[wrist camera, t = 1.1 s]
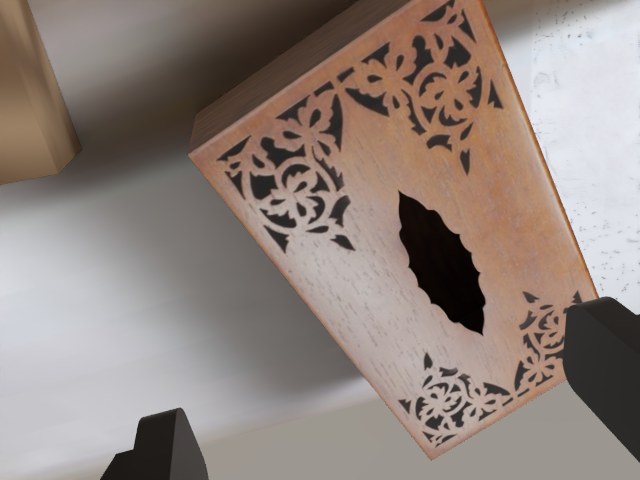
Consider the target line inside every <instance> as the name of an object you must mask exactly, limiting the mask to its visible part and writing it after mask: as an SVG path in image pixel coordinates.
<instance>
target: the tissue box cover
mask: <svg viewBox="0 0 640 480" xmlns="http://www.w3.org/2000/svg"><path fill="white" fill-rule="evenodd" d="M188 156H189V158H190V159H191V160H192V161H193V163H194V164H195V165H196V166H197V168H198V169H199V170H200V171H201V173H202V174H203V175H204V176H205V178H206V179H207V180H208V181H209V183H210V184H211V185H212V186H213V188H214V189H215V190H216V191H217V193H218V194H219V195H220V196H221V198H222V199H223V200H224V201H225V203H226V204H227V205H228V206H229V208H230V209H231V210H232V211H233V213H234V214H235V215H236V217H237V218H238V219H239V220H240V222H241V223H242V224H243V225H244V227H245V228H246V229H247V230H248V232H249V233H250V234H251V235H252V237H253V238H254V239H255V240H256V242H257V243H258V244H259V245H260V247H261V248H262V249H263V250H264V252H265V253H266V254H267V255H268V257H269V258H270V259H271V260H272V262H273V263H274V264H275V265H276V267H277V268H278V269H279V270H280V272H281V273H282V274H283V275H284V277H285V278H286V279H287V281H288V282H289V283H290V284H291V286H292V287H293V288H294V289H295V291H296V292H297V293H298V294H299V296H300V297H301V298H302V299H303V301H304V302H305V303H306V304H307V306H308V307H309V308H310V309H311V311H312V312H313V313H314V314H315V316H316V317H317V318H318V319H319V321H320V322H321V323H322V324H323V326H324V327H325V328H326V329H327V331H328V332H329V333H330V334H331V336H332V337H333V338H334V339H335V341H336V342H337V343H338V345H339V346H340V347H341V348H342V350H343V351H344V352H345V353H346V355H347V356H348V357H349V358H350V360H351V361H352V362H353V363H354V365H355V366H356V367H357V368H358V370H359V371H360V372H361V373H362V375H363V376H364V377H365V378H366V380H367V381H368V382H369V383H370V385H371V386H372V387H373V388H374V390H375V391H376V392H377V393H378V395H379V396H380V397H381V398H382V400H383V401H384V402H385V403H386V405H387V406H388V407H389V409H390V410H391V411H392V412H393V414H394V415H395V416H396V417H397V419H398V420H399V421H400V422H401V424H402V425H403V426H404V427H405V429H406V430H407V431H408V432H409V434H410V435H411V436H412V437H413V439H414V440H415V441H416V442H417V444H418V445H419V446H420V447H421V449H422V450H423V451H424V452H425V454H426V455H427V456H428V457H429V459H430V460H433V459H435V458H436V457H438V456H440V455H441V454H443V453H445V452H447V451H448V450H450V449H452V448H453V447H455V446H457V445H458V444H460V443H462V442H463V441H465V440H467V439H468V438H470V437H472V436H473V435H475V434H477V433H478V432H480V431H482V430H483V429H485V428H487V427H488V426H490V425H491V424H493V423H495V422H496V421H498V420H500V419H502V418H503V417H505V416H506V415H508V414H510V413H512V412H513V411H515V410H516V409H518V408H520V407H522V406H523V405H525V404H527V403H528V402H530V401H532V400H533V399H535V398H537V397H538V396H540V395H542V394H543V393H545V392H547V391H548V390H550V389H552V388H553V387H555V386H557V385H558V384H560V383H562V382H563V381H565V380H567V378H566V376H565V373H564V369H563V349H564V336H565V323H566V313H567V310H568V308H569V307H570V306H572V305H575V304H579V303H582V302H586V301H590V300H594V299H598V298H599V296H598V294H597V291H596V289H595V286H594V283H593V281H592V278H591V276H590V273H589V271H588V268H587V266H586V263H585V260H584V258H583V255H582V253H581V250H580V248H579V245H578V243H577V240H576V238H575V235H574V232H573V230H572V227H571V225H570V222H569V220H568V217H567V215H566V212H565V209H564V207H563V204H562V202H561V199H560V197H559V194H558V192H557V189H556V187H555V184H554V181H553V179H552V176H551V174H550V171H549V169H548V166H547V164H546V161H545V159H544V156H543V153H542V151H541V148H540V146H539V143H538V141H537V138H536V136H535V133H534V130H533V128H532V125H531V123H530V120H529V118H528V115H527V113H526V110H525V108H524V105H523V102H522V100H521V97H520V95H519V92H518V90H517V87H516V85H515V82H514V79H513V77H512V74H511V72H510V69H509V67H508V64H507V62H506V59H505V57H504V54H503V51H502V49H501V46H500V44H499V41H498V39H497V36H496V34H495V31H494V29H493V26H492V23H491V21H490V18H489V16H488V13H487V11H486V8H485V6H484V3H483V0H359V1H357V2H356V3H354V4H353V5H352V6H350V7H349V8H347V9H346V10H344V11H343V12H341V13H340V14H339V15H337V16H336V17H334V18H333V19H331V20H330V21H329V22H327V23H326V24H324V25H323V26H321V27H320V28H319V29H317V30H316V31H314V32H313V33H311V34H310V35H308V36H307V37H306V38H304V39H303V40H301V41H300V42H298V43H297V44H296V45H294V46H293V47H291V48H290V49H288V50H287V51H286V52H284V53H283V54H281V55H280V56H278V57H277V58H276V59H274V60H273V61H271V62H270V63H268V64H267V65H265V66H264V67H263V68H261V69H260V70H258V71H257V72H255V73H254V74H253V75H251V76H250V77H248V78H247V79H245V80H244V81H243V82H241V83H240V84H238V85H237V86H235V87H234V88H232V89H231V90H230V91H228V92H227V93H225V94H224V95H222V96H221V97H220V98H218V99H217V100H215V101H214V102H212V103H211V104H210V105H208V106H207V107H205V108H204V109H202V110H201V111H200V112H198V113H197V114H196V116H195V121H194V126H193V131H192V136H191V141H190V145H189V150H188ZM482 306H483V307H482ZM481 307H482V308H481ZM479 308H480V309H479ZM477 309H479V310H477ZM476 310H477V311H476ZM474 311H476V312H474ZM473 312H474V313H473ZM471 313H472V314H471ZM469 314H471V315H469ZM468 315H469V316H468ZM466 316H468V317H466ZM465 317H466V318H465ZM463 318H464V319H463ZM461 319H463V320H461ZM460 320H461V321H460ZM458 321H460V322H458Z"/></svg>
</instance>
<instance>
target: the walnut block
mask: <svg viewBox="0 0 640 480" xmlns="http://www.w3.org/2000/svg"><path fill="white" fill-rule="evenodd" d="M81 150H82V149H81V146H80V143H79V140H78V138H77V135H76V132H75V130H74V127H73V124H72V121H71V119H70V116H69V113H68V111H67V108H66V105H65V102H64V100H63V97H62V94H61V92H60V89H59V86H58V83H57V81H56V78H55V75H54V72H53V70H52V67H51V64H50V62H49V59H48V56H47V53H46V51H45V48H44V45H43V43H42V40H41V37H40V34H39V32H38V29H37V26H36V24H35V21H34V18H33V15H32V13H31V10H30V7H29V4H28V2H27V0H0V185H1V184H7V183H12V182H17V181H23V180H28V179H33V178H39V177H44V176H49V175H55V174H59V172H60V171H61V170H62V169H63V168H64V167H65V166H66V165H67V164H68V163H69V162H70V161H71V160H72V159H73V158H74V157H75V156H76V155H77V154H78V153H79V152H80V151H81Z"/></svg>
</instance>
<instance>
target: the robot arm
mask: <svg viewBox="0 0 640 480" xmlns="http://www.w3.org/2000/svg"><path fill="white" fill-rule="evenodd" d="M563 369H564V373H565V376H566V378H567V380H568V382H569V384H570V386H571V387H572V389H573V390H574V392H575V393H576V394H577V395H578V396H579V397H580V398H581V399H582V400H583V401H584V403H585V404H586V405H587V406H588V407H589V408H590V409H591V410H592V411H593V412H594V413H595V415H596V416H597V417H598V418H599V419H600V420H601V421H602V422H603V423H604V424H605V425H606V427H607V428H608V429H609V430H610V431H611V432H612V433H613V434H614V435H615V436H616V437H617V439H618V440H619V441H620V442H621V443H622V444H623V445H624V446H625V447H626V448H627V449H628V450H629V452H630V453H631V454H632V455H633V456H634V457H635V458H636V459H637V460H638V461H639V462H640V314H639V315H635V314H634V313H633V312H631V311H630V310H629V309H627V308H626V307H625V306H623V305H622V304H621V303H619V302H618V301H617V300H615V299H613V298H611V297H601V298H598V299H594V300H590V301H586V302H582V303H579V304H575V305H572V306H570V307H569V308H568V310H567V313H566V323H565V336H564V349H563ZM100 480H209V479H208V473H207V468H206V464H205V461H204V458H203V456H202V453H201V451H200V448H199V446H198V443H197V441H196V438H195V436H194V434H193V431H192V429H191V426H190V424H189V421H188V419H187V417H186V414H185V412H184V410H183V409H182V408H176V409H173V410H169V411H165V412H161V413H157V414H154V415H150V416H146V417H142V418H141V419H140V421H139V423H138V428H137V433H136V438H135V444H134V449H133V450H129V451H125V452H122V453H118V454H116V455H115V457H114V458H113V460H112V462H111V463H110V465H109V466H108V468H107V469H106V471H105V473H104V474H103V476H102V477H101V479H100Z"/></svg>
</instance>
